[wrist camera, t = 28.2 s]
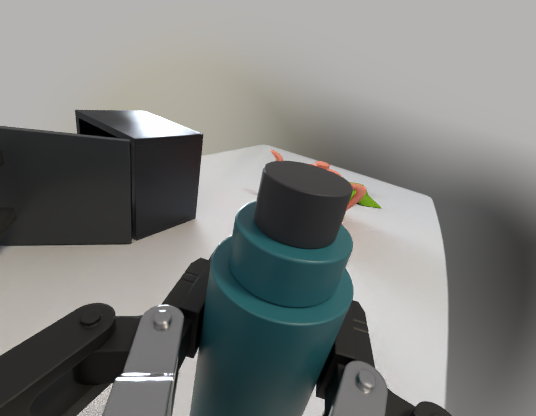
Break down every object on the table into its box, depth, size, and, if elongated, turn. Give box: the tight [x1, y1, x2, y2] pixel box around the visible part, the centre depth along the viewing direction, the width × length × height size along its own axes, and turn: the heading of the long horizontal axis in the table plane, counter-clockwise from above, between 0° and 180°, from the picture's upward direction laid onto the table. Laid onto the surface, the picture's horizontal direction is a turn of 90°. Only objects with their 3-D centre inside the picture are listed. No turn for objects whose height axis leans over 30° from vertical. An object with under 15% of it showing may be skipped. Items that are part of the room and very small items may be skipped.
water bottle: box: [190, 161, 353, 416], centre depth 10 cm, size 4×4×13 cm
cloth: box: [349, 182, 381, 208], centre depth 83 cm, size 20×22×2 cm
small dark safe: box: [75, 110, 203, 240], centre depth 49 cm, size 12×16×16 cm
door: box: [0, 126, 132, 245], centre depth 35 cm, size 7×16×16 cm, turn 108°
